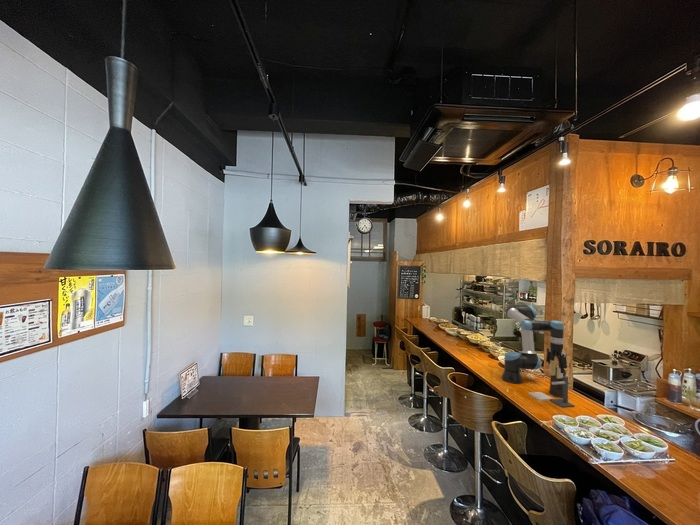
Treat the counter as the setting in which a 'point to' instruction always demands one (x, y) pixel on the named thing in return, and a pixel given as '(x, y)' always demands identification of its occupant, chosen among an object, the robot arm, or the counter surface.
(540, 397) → the plate
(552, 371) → the link
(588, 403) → the counter surface
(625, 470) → the counter surface
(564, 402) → the stand
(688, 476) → the counter surface
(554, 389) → the beer stein
